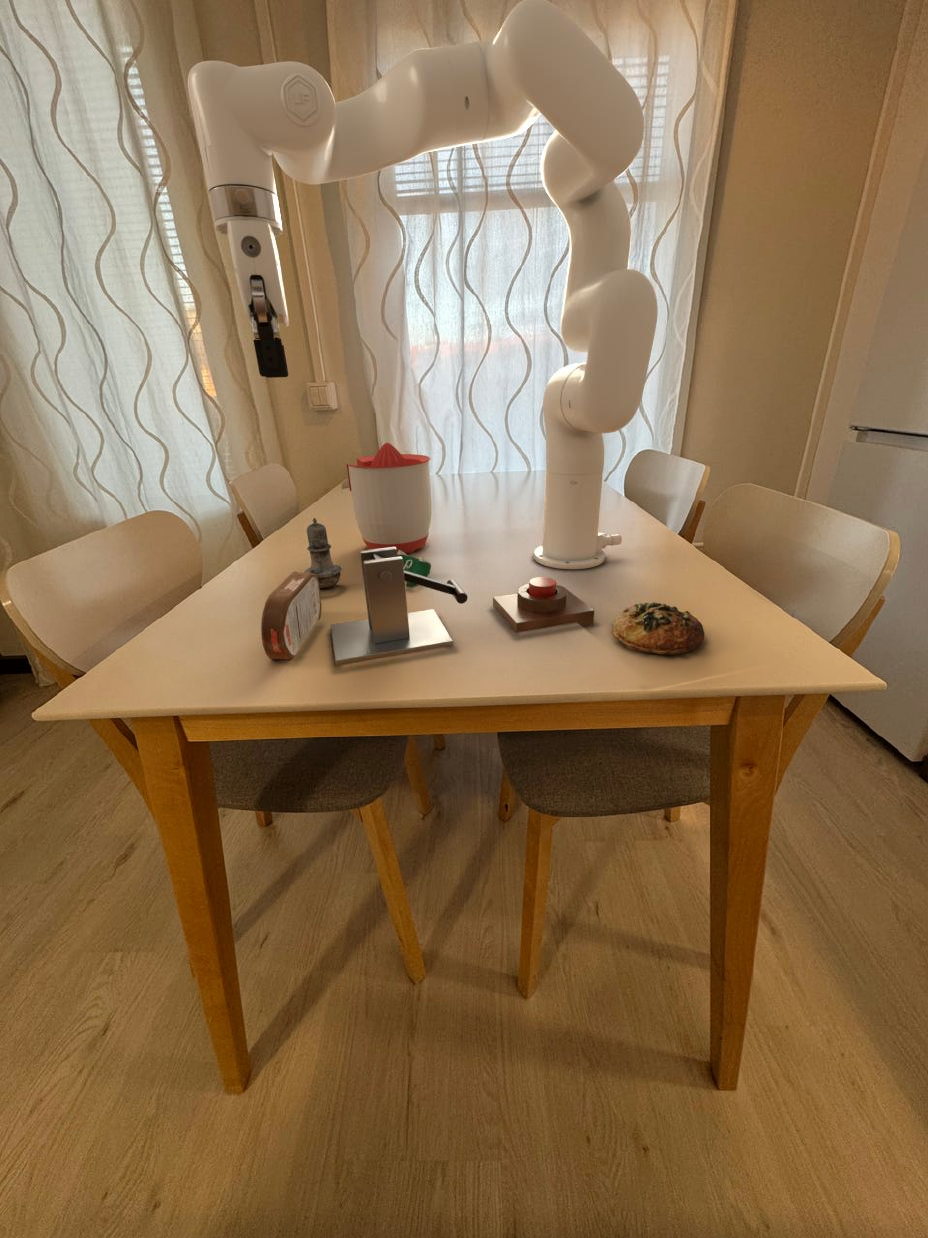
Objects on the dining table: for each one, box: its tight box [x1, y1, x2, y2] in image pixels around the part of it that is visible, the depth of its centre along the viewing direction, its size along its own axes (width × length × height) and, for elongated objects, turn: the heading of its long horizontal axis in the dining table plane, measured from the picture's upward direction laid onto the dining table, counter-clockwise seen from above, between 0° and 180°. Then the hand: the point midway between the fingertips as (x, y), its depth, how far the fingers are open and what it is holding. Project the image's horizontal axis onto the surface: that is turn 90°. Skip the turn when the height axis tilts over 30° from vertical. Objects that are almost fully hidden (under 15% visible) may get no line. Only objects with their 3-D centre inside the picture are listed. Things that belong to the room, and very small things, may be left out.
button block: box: [492, 583, 595, 633], centre depth 68 cm, size 11×9×4 cm
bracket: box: [330, 547, 454, 666], centre depth 61 cm, size 14×10×12 cm
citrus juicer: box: [341, 442, 433, 554], centre depth 97 cm, size 16×17×20 cm
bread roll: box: [612, 601, 706, 656], centre depth 62 cm, size 11×11×5 cm
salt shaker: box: [303, 517, 343, 590], centre depth 78 cm, size 6×6×12 cm
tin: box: [260, 570, 322, 661], centre depth 63 cm, size 15×3×8 cm, turn 178°
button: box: [528, 576, 557, 597], centre depth 67 cm, size 4×4×2 cm
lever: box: [371, 554, 469, 605], centre depth 62 cm, size 12×5×2 cm, turn 106°
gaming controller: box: [397, 550, 432, 588], centre depth 83 cm, size 9×4×6 cm
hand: (275, 376), depth 66 cm, fingers open, 9 cm apart
